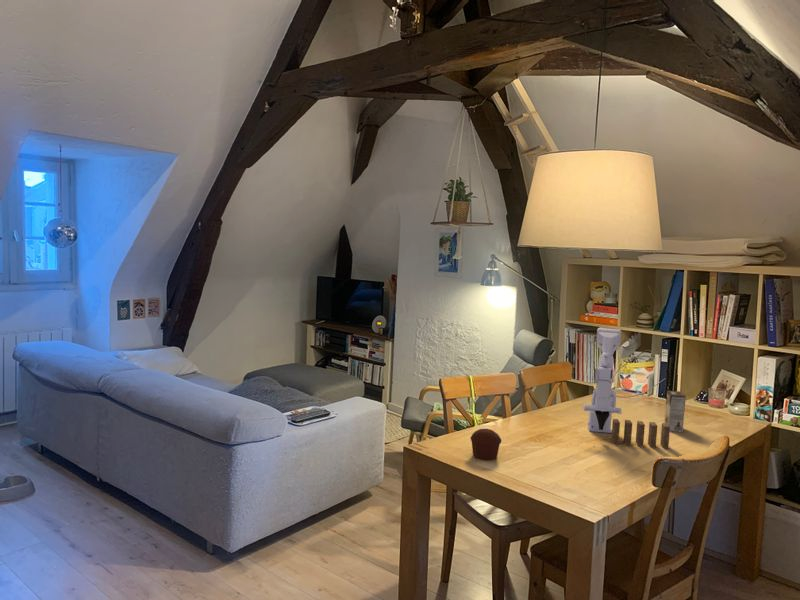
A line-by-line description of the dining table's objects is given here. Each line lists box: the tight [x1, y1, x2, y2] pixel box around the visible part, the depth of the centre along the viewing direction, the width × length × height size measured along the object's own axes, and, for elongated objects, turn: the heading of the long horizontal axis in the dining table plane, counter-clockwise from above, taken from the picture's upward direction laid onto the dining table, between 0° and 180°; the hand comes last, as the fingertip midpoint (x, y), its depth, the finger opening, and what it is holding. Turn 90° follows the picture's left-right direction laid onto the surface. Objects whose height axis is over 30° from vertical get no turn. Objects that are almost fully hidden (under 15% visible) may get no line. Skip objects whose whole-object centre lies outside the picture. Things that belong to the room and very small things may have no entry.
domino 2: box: [622, 419, 633, 446], centre depth 257 cm, size 2×5×9 cm, turn 170°
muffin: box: [470, 428, 502, 461], centre depth 235 cm, size 12×11×10 cm
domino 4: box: [647, 421, 658, 448], centre depth 255 cm, size 2×5×9 cm, turn 170°
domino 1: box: [610, 418, 621, 445], centre depth 258 cm, size 2×5×9 cm, turn 170°
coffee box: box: [663, 390, 687, 433], centre depth 280 cm, size 9×6×16 cm
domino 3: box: [635, 420, 646, 447], centre depth 256 cm, size 2×5×9 cm, turn 170°
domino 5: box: [659, 422, 671, 450], centre depth 255 cm, size 2×5×9 cm, turn 169°
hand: (600, 429), depth 259 cm, fingers closed
